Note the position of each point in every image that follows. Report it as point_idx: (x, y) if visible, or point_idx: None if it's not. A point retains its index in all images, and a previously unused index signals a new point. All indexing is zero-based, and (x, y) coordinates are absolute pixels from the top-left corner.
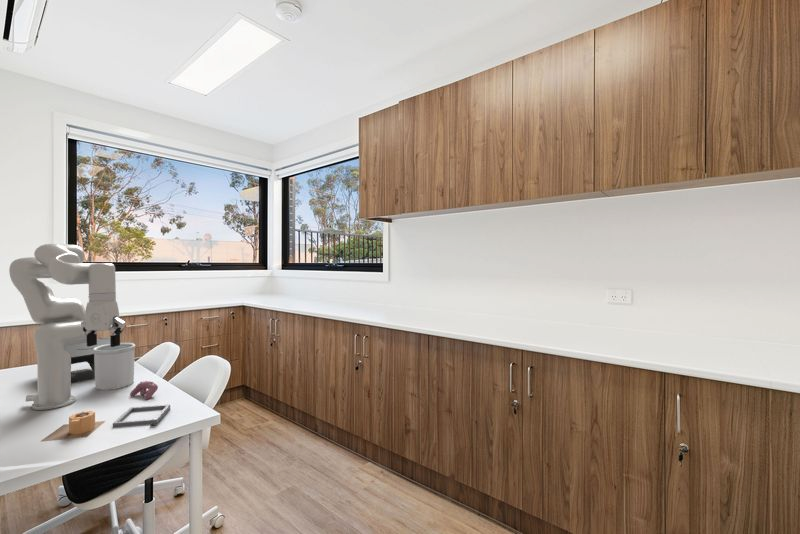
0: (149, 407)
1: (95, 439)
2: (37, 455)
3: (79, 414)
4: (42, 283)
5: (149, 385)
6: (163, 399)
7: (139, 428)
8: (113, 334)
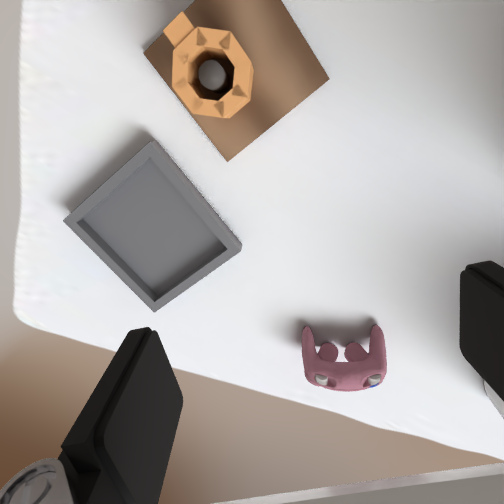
0: (190, 275)
1: (123, 69)
2: None
3: (234, 76)
4: None
5: (323, 370)
6: (256, 345)
7: (94, 181)
8: (36, 481)
